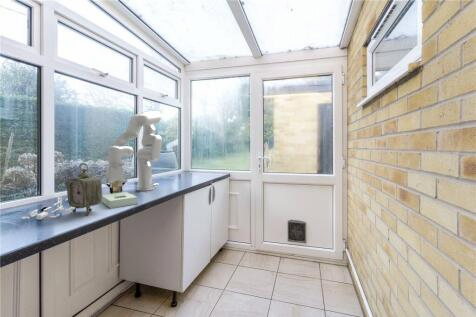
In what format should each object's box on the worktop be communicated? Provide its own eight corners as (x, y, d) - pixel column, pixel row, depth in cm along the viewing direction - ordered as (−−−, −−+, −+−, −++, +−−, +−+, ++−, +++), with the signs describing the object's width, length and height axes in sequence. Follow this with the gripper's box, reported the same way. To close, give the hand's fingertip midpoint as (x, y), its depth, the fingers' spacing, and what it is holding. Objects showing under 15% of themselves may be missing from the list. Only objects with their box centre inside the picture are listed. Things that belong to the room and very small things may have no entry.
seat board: (126, 198, 146) (125, 191, 146) (137, 203, 132) (137, 197, 132) (101, 201, 137) (101, 195, 137) (110, 208, 122) (110, 201, 122)
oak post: (118, 196, 152) (118, 179, 151) (120, 197, 149) (120, 180, 148) (111, 197, 149) (111, 180, 148) (113, 198, 146) (112, 181, 145)
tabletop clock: (68, 213, 114) (65, 163, 112) (86, 208, 122) (84, 162, 120) (85, 217, 107) (83, 164, 106) (104, 212, 116) (102, 163, 114)
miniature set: (70, 201, 136) (92, 203, 137) (20, 224, 101) (49, 228, 102) (71, 190, 135) (93, 193, 136) (21, 211, 100) (50, 214, 102)
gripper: (127, 164, 156) (127, 190, 157) (99, 165, 144) (99, 194, 146) (130, 164, 151) (131, 192, 152) (101, 166, 139) (102, 196, 140)
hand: (116, 192), depth 149 cm, fingers closed on oak post, 4 cm apart
